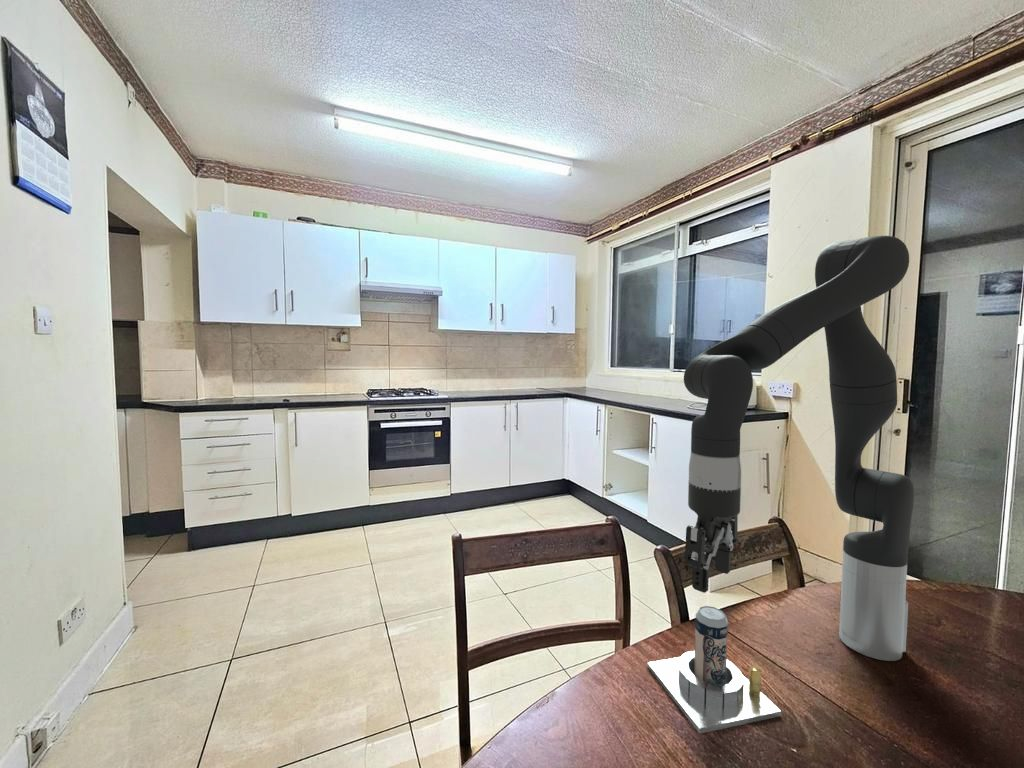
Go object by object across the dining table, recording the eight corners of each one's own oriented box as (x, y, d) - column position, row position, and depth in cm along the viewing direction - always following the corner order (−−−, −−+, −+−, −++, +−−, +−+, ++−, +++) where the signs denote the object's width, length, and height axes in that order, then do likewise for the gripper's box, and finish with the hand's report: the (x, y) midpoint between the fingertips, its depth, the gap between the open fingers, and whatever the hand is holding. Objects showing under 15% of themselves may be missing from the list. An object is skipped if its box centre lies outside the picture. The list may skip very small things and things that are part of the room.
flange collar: (717, 655, 79) (717, 629, 79) (781, 716, 66) (782, 685, 65) (647, 666, 76) (648, 640, 76) (699, 733, 62) (700, 701, 62)
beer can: (709, 698, 68) (711, 624, 67) (687, 678, 72) (689, 607, 72) (732, 691, 70) (735, 617, 69) (709, 671, 74) (711, 602, 73)
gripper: (720, 496, 62) (717, 607, 63) (755, 477, 71) (753, 573, 72) (669, 485, 67) (668, 587, 68) (709, 468, 77) (707, 558, 78)
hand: (711, 580), depth 70 cm, fingers open, 8 cm apart
